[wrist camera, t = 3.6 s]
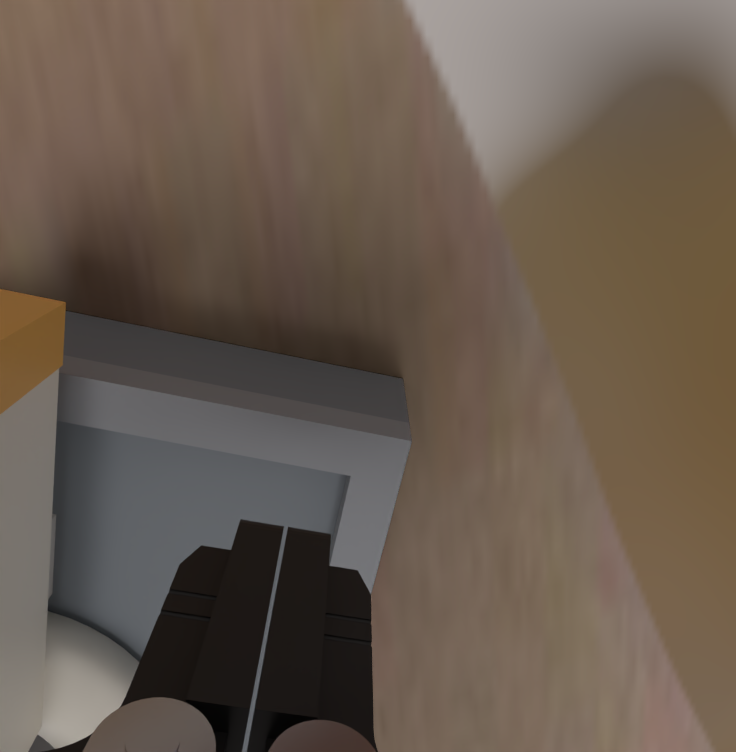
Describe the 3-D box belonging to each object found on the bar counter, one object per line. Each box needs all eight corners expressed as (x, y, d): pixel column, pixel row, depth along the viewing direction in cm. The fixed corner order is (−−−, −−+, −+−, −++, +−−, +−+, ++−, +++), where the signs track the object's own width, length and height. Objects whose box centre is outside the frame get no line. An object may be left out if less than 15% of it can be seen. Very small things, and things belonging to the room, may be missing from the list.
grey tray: (402, 378, 19) (411, 440, 15) (271, 900, 27) (256, 1022, 24) (-250, 247, 18) (-417, 280, 14) (-176, 839, 26) (-268, 959, 22)
